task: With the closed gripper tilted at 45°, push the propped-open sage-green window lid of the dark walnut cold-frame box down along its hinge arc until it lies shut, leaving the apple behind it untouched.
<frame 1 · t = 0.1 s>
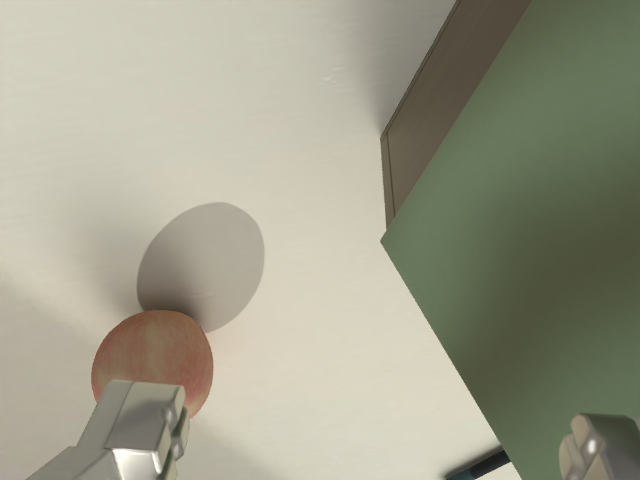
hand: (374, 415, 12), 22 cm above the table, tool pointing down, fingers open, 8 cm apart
pen: (511, 446, 47), on the table
apple: (172, 324, 41), on the table
coldframe: (570, 90, 29), on the table
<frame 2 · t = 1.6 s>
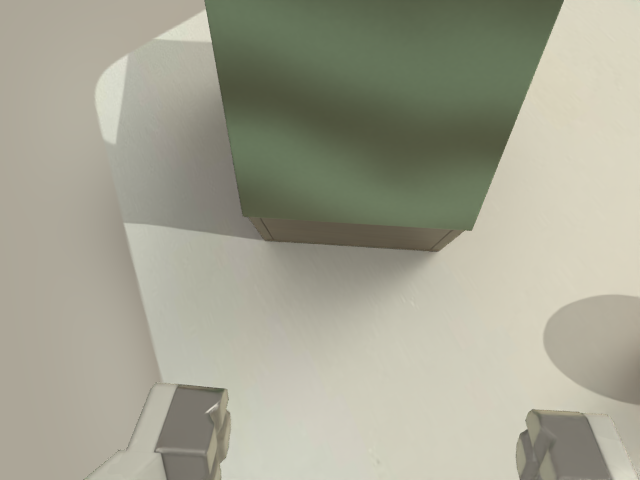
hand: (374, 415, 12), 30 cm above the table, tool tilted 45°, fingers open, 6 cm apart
lid: (367, 113, 26), point 18 cm above the table, hinge at 65.0°
coldframe: (356, 150, 44), on the table
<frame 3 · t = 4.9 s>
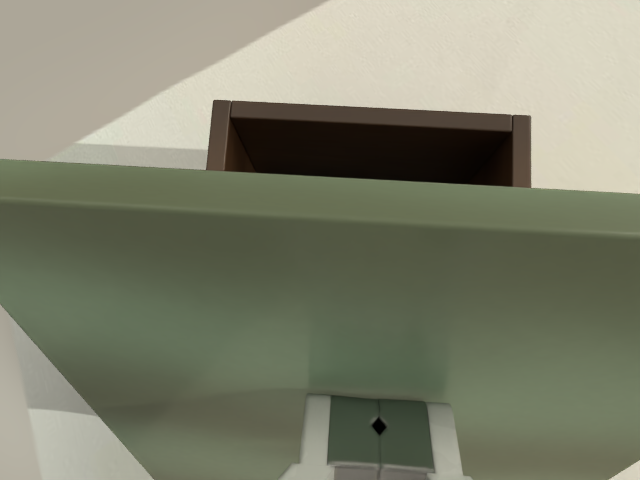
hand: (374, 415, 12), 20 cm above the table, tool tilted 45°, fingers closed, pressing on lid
lid: (368, 420, 14), point 18 cm above the table, hinge at 62.4°, touching gripper
coldframe: (353, 303, 32), on the table
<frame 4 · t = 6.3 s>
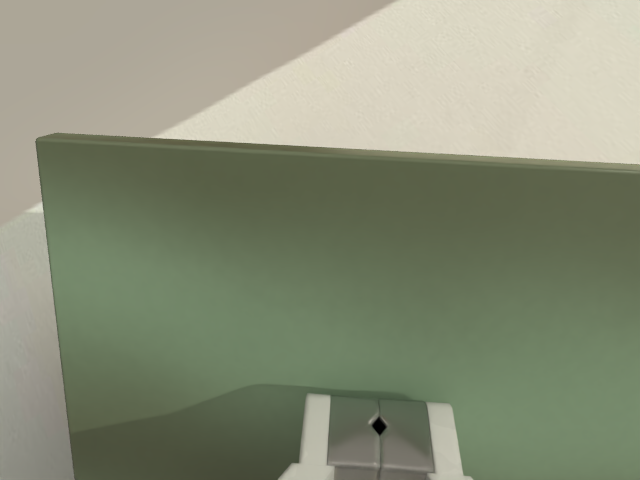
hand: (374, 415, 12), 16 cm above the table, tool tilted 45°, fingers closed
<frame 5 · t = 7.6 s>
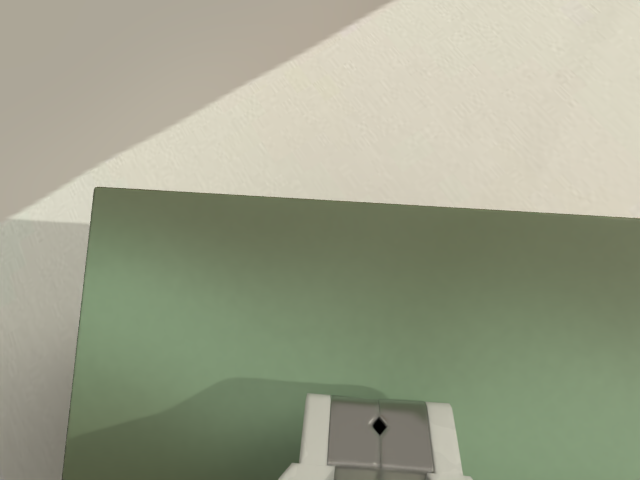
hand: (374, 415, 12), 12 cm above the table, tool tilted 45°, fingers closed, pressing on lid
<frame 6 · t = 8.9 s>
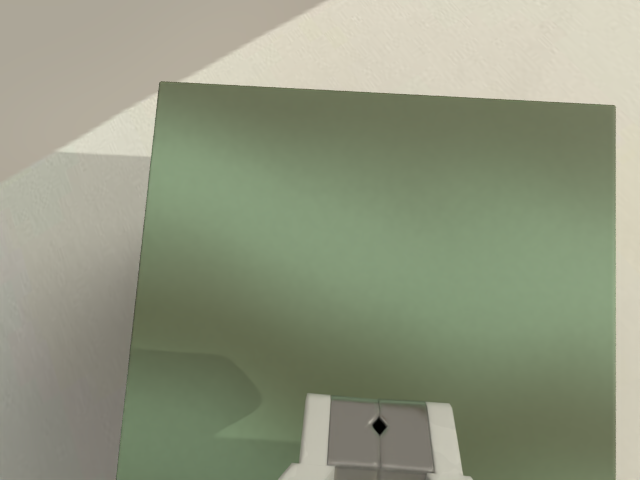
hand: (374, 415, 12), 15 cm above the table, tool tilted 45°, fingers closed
lid: (367, 375, 16), point 11 cm above the table, hinge at 2.5°
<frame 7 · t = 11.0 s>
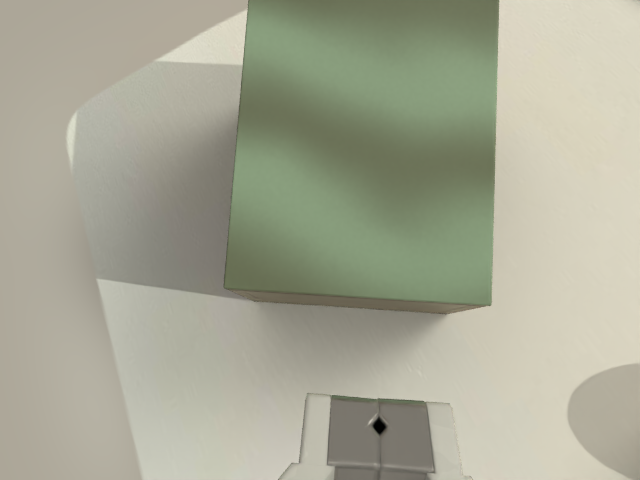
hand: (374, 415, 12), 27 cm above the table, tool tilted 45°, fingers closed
lid: (364, 140, 29), point 11 cm above the table, hinge at 2.5°
coldframe: (356, 198, 40), on the table
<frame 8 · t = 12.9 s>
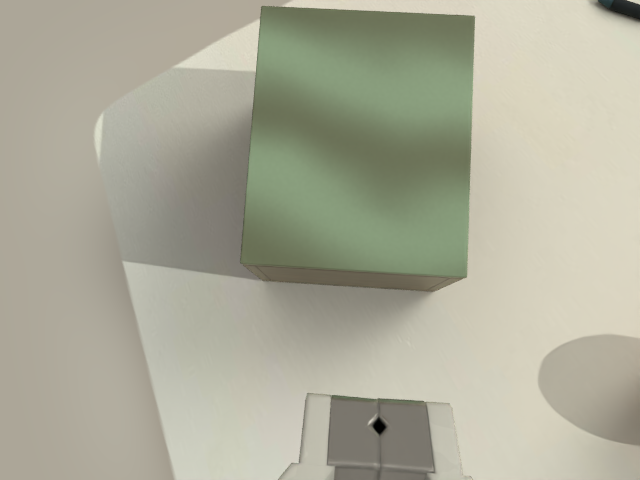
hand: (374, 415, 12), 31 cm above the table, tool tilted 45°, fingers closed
lid: (360, 138, 34), point 11 cm above the table, hinge at 2.5°
coldframe: (353, 190, 45), on the table
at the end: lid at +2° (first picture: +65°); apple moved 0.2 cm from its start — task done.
